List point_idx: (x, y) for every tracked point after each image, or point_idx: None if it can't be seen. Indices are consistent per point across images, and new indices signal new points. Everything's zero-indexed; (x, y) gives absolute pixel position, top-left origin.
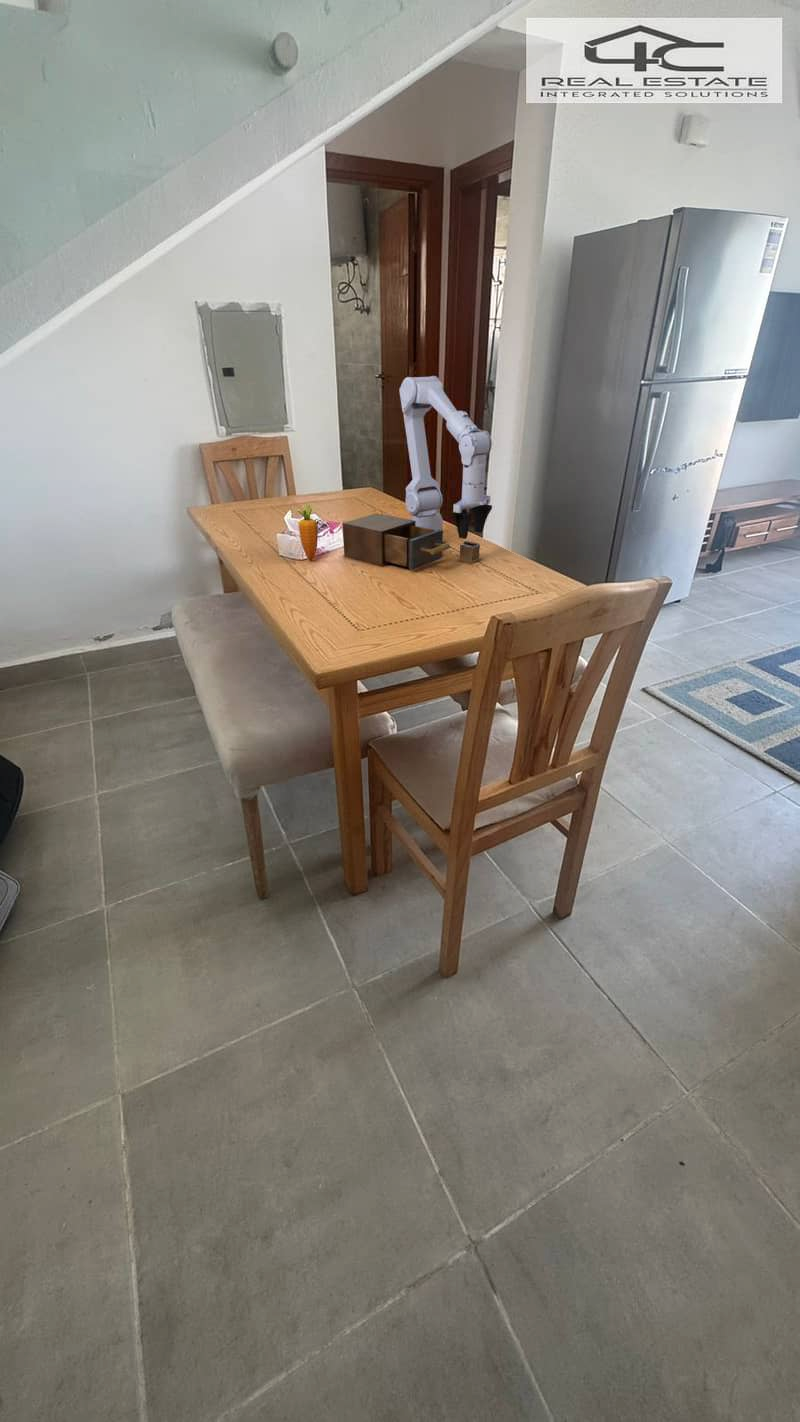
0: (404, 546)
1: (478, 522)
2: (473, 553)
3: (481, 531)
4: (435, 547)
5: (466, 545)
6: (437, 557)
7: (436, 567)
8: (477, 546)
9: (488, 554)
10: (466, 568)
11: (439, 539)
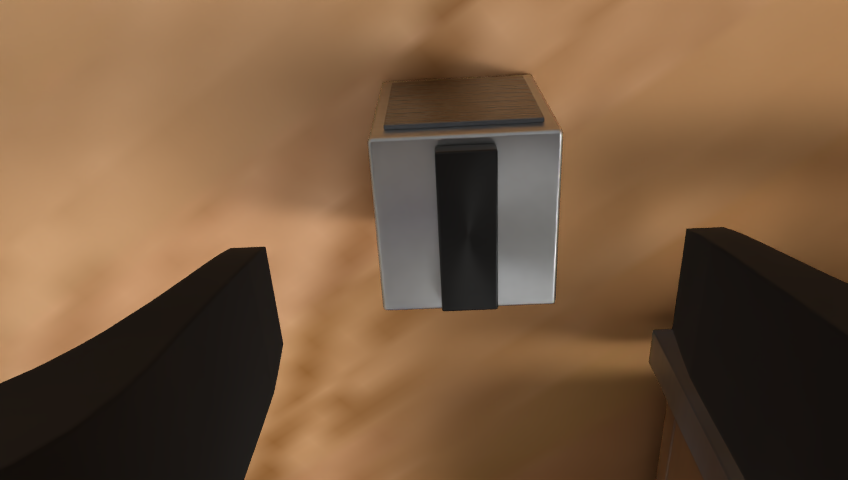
0: None
1: (224, 403)
2: (520, 98)
3: (254, 252)
4: None
5: (550, 224)
6: None
7: (835, 247)
8: (429, 129)
9: (150, 124)
10: (716, 5)
11: None
